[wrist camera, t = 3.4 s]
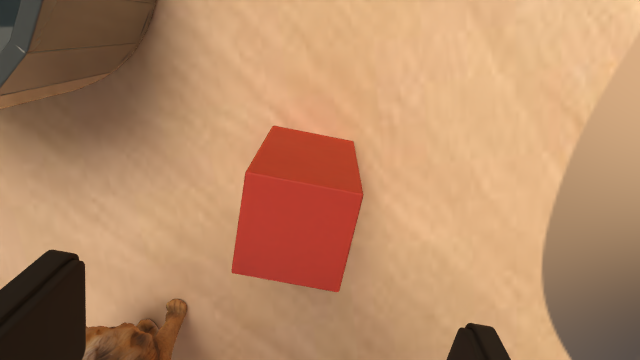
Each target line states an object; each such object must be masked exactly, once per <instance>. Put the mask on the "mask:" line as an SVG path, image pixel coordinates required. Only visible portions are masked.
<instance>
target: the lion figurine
mask: <svg viewBox="0 0 640 360" xmlns="http://www.w3.org/2000/svg"><path fill="white" fill-rule="evenodd" d="M166 308H167V311H168V312H167V314H166V322H165V324H164V325H163V326H162V327H161V328H160V329H159V330H158V327H157V326H156V324H155V323H154V322H153V321H151V320H149V319H146V320H141V321H140V322H139V324H138V325H137V327H136V326H134V325H133V324H131V323H128V324H127V323H123V324H121V325H120V326H117V327H110V328H108V327H104V326H98V327H90V328H88V327H87V326H86V350H85V354H84V357H83V359H82V360H171V356H172V351H173V347H174V344H175V341H176V337H177V334H178V332H179V329H180V327H181V324H182V322H183V320H184V317H185V314H186V310H187V306H186V304H185V302H184V301H182V300H179V299H173V300H171V301H170V302H168V303H167V305H166Z"/></svg>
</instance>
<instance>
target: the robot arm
mask: <svg viewBox="0 0 640 360" xmlns="http://www.w3.org/2000/svg"><path fill="white" fill-rule="evenodd" d="M85 350H86V309H85V264H84V262H83V261H79V257H78V255H77V254H74V253H68V252H63V251H57V250H49V251H47V252H46V253H44V254H43V255H42V256H41V257H40V258H38V259H37V260H36V261H35V262H33V263H32V264H31V265H30V266H29V267H27V268H26V269H25V270H24V271H23V272H21V273H20V274H19V275H18V276H17V277H15V278H14V279H13V280H12V281H10V282H9V283H8V284H7V285H6V286H4V287H3V288H2V289H1V290H0V360H82V359H83V357H84V354H85ZM447 360H511V359H510V357H509V355H508V353H507V352H506V350H505V348H504V346H503V344H502V342H501V340H500V338H499V336H498V335H497V333H496V331H495V329H494V328H492V327H490V326H484V325H479V324H473V323H468V324H467V325H466V327H465V328H460V329H459V330H458V332H457V334H456V337H455V340H454V342H453V345H452V347H451V350H450V352H449V355H448V357H447Z"/></svg>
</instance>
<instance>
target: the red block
mask: <svg viewBox="0 0 640 360" xmlns="http://www.w3.org/2000/svg"><path fill="white" fill-rule="evenodd" d="M362 199H363V191H362V185H361V180H360V175H359V169H358V164H357V158H356V153H355V148H354V142H353V141H348V140H343V139H338V138H333V137H328V136H323V135H318V134H313V133H308V132H303V131H298V130H293V129H288V128H283V127H278V126H273V127H272V128H271V130H270V132H269V133H268V135H267V137H266V139H265V140H264V142H263V144H262V145H261V147H260V149H259V150H258V152H257V154H256V156H255V157H254V159H253V161H252V162H251V164H250V166H249V167H248V169H247V171H246V173H245V180H244V187H243V194H242V201H241V208H240V215H239V222H238V229H237V236H236V243H235V250H234V257H233V264H232V273H235V274H240V275H246V276H251V277H257V278H262V279H268V280H273V281H279V282H284V283H290V284H295V285H301V286H306V287H312V288H317V289H323V290H328V291H334V292H339V290H340V286H341V282H342V278H343V274H344V270H345V266H346V262H347V258H348V254H349V250H350V246H351V242H352V238H353V234H354V230H355V226H356V222H357V218H358V214H359V210H360V206H361V202H362Z"/></svg>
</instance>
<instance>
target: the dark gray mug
mask: <svg viewBox="0 0 640 360" xmlns="http://www.w3.org/2000/svg"><path fill="white" fill-rule="evenodd" d="M155 3H156V0H0V109H3V108H7V107H11V106H15V105H19V104H23V103H27V102H31V101H35V100H39V99H43V98H47V97H51V96H55V95H59V94H62V93H66V92H70V91H74V90H78V89H81V88H83V87H85V86H87V85H90V84H92V83H95V82H97V81H99V80H101V79H103V78H105V77H106V76H108V75H109V74H111V73H112V72H114V71H115V70H117V69H118V68H119V67H120V66H121V65H122V64H123V63H124V62H125V61H126V60H128V58H129V57H130V56H131V55H132V53H133V52H134V51H135V50H136V48H137V47H138V45H139V44H140V42H141V40H142V38H143V37H144V35H145V33H146V31H147V28H148V26H149V23H150V21H151V18H152V15H153V11H154V7H155Z"/></svg>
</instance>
